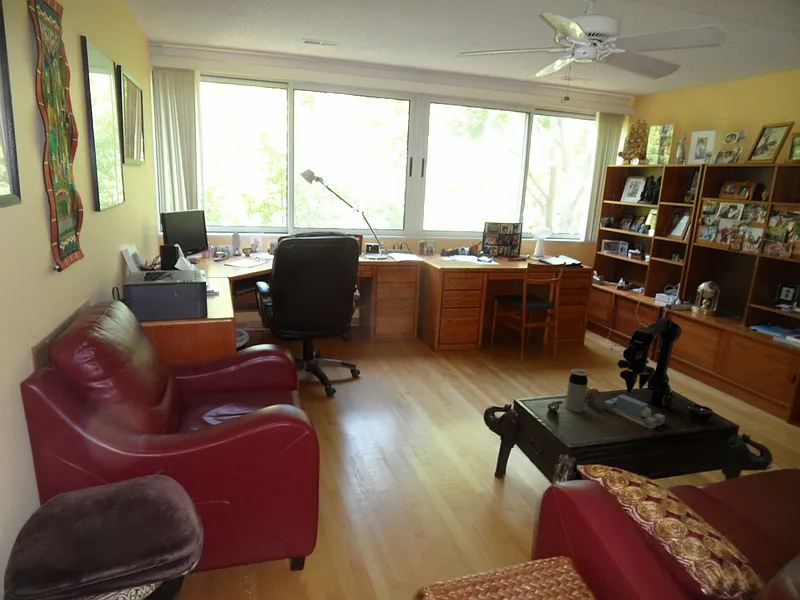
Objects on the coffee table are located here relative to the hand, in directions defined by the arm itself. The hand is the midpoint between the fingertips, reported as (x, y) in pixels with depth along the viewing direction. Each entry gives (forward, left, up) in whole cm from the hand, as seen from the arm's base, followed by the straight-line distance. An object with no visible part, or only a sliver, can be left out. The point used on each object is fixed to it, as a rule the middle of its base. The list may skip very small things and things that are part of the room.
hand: (634, 390), depth 227 cm
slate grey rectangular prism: (0, 0, -11) cm, 11 cm away
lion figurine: (+5, -18, -12) cm, 23 cm away
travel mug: (+18, -17, -12) cm, 27 cm away
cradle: (0, +1, -12) cm, 12 cm away
